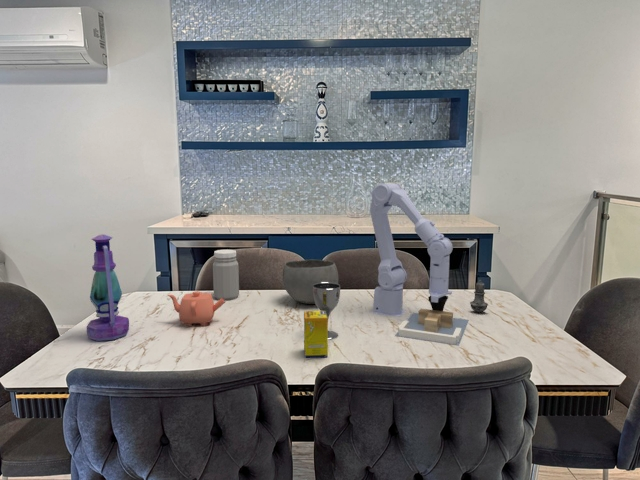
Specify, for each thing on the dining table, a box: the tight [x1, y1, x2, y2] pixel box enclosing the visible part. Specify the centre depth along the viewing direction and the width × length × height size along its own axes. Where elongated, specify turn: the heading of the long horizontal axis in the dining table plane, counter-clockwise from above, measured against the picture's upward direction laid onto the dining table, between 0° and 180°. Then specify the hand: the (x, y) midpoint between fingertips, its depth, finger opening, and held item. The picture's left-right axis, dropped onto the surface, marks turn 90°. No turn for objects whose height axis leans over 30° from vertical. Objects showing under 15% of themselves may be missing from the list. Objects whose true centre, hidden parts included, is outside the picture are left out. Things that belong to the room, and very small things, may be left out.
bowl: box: [282, 258, 339, 305], centre depth 166 cm, size 20×20×15 cm
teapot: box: [167, 290, 226, 327], centre depth 143 cm, size 14×12×10 cm
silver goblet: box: [313, 282, 341, 340], centre depth 132 cm, size 8×8×15 cm
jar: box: [212, 248, 240, 301], centre depth 172 cm, size 10×10×18 cm
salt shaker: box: [469, 279, 489, 314], centre depth 152 cm, size 6×6×12 cm
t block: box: [418, 308, 454, 333], centre depth 137 cm, size 10×10×4 cm
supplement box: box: [303, 310, 329, 359], centre depth 119 cm, size 6×6×11 cm
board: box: [394, 312, 470, 346], centre depth 138 cm, size 18×24×1 cm
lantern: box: [86, 234, 130, 342], centre depth 130 cm, size 13×12×30 cm
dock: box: [397, 319, 462, 345], centre depth 131 cm, size 17×8×2 cm, turn 66°
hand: (437, 318), depth 143 cm, fingers closed
